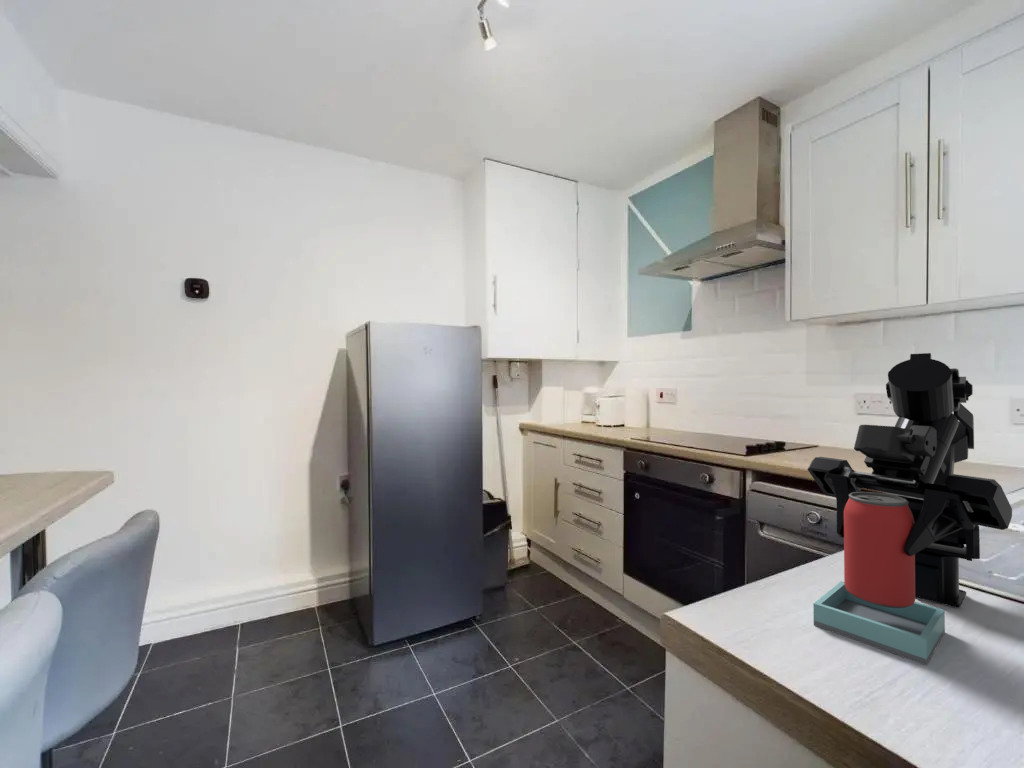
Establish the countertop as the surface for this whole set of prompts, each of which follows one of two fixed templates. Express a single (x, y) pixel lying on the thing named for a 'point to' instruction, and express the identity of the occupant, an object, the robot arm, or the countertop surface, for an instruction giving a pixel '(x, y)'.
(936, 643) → the tray
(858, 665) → the countertop surface
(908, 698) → the countertop surface
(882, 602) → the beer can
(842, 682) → the countertop surface
